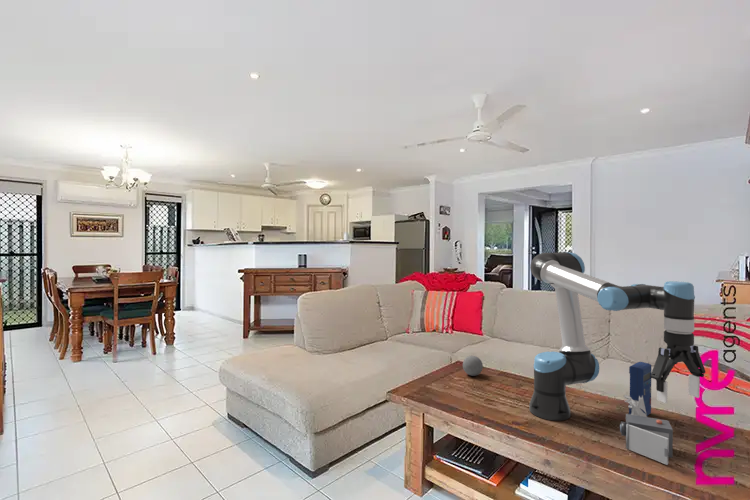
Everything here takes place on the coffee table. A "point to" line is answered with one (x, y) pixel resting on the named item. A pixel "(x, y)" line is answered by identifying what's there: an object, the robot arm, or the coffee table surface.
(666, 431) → the camera body
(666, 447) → the door
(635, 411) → the figurine
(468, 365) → the decorative ball
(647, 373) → the electronic device
